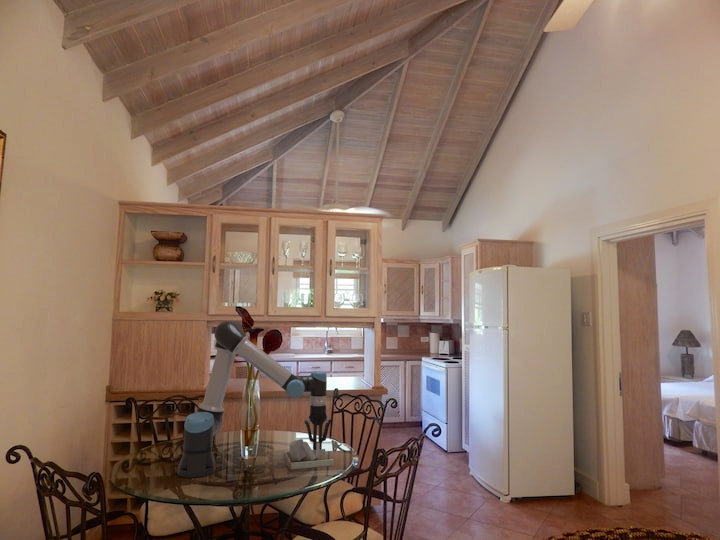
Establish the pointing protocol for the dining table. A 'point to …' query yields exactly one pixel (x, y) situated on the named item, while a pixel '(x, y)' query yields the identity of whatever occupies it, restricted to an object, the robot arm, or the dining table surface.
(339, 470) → the dining table surface
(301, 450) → the wall hook
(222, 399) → the robot arm
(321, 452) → the keeper channel
